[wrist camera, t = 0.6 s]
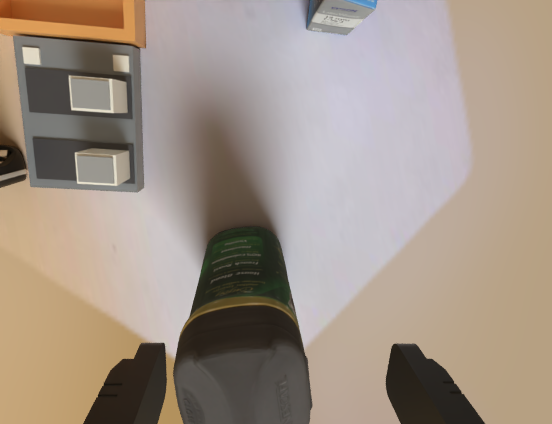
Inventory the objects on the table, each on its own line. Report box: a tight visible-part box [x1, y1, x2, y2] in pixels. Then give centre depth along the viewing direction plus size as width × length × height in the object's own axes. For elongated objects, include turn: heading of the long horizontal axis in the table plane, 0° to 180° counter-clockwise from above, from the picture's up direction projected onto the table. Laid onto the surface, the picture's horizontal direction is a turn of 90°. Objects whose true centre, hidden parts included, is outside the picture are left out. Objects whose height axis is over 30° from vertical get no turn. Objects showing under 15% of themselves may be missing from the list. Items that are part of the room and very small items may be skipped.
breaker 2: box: [75, 148, 130, 186], centre depth 29 cm, size 2×3×3 cm
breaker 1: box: [69, 76, 128, 113], centre depth 27 cm, size 2×3×3 cm
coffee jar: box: [173, 227, 312, 424], centre depth 28 cm, size 10×8×19 cm
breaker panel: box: [13, 35, 144, 192], centre depth 30 cm, size 12×9×2 cm
